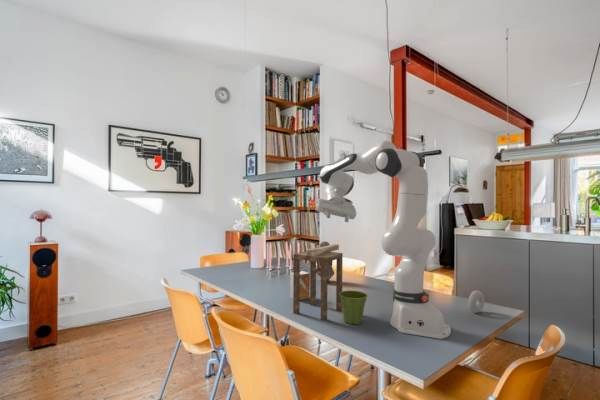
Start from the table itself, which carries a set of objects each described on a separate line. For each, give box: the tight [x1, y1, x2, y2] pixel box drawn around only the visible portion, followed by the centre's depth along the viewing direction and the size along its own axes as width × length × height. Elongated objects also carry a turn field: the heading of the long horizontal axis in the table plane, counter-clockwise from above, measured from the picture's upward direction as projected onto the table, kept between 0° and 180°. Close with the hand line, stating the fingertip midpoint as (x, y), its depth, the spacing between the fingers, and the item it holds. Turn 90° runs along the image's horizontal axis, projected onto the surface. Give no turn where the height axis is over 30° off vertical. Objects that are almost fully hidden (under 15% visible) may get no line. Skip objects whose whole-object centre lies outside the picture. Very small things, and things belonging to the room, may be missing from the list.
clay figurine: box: [316, 241, 335, 283], centre depth 198 cm, size 13×10×25 cm
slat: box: [306, 243, 340, 256], centre depth 149 cm, size 3×24×2 cm, turn 146°
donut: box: [467, 290, 485, 314], centre depth 145 cm, size 10×4×10 cm, turn 124°
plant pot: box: [339, 290, 369, 325], centre depth 133 cm, size 12×12×11 cm
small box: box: [289, 270, 310, 301], centre depth 164 cm, size 8×6×13 cm
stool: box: [292, 250, 343, 322], centre depth 144 cm, size 16×16×26 cm
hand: (337, 219), depth 154 cm, fingers open, 8 cm apart
